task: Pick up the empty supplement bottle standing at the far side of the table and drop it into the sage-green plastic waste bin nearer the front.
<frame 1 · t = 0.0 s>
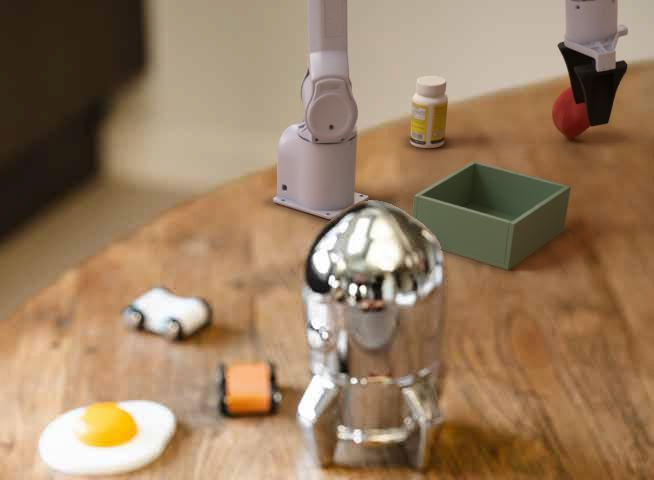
hand: (591, 112, 145), 11 cm above the table, tool pointing down, fingers open, 7 cm apart
bin: (487, 235, 144), on the table
supplement bottle: (426, 144, 167), on the table
onion: (569, 140, 167), on the table
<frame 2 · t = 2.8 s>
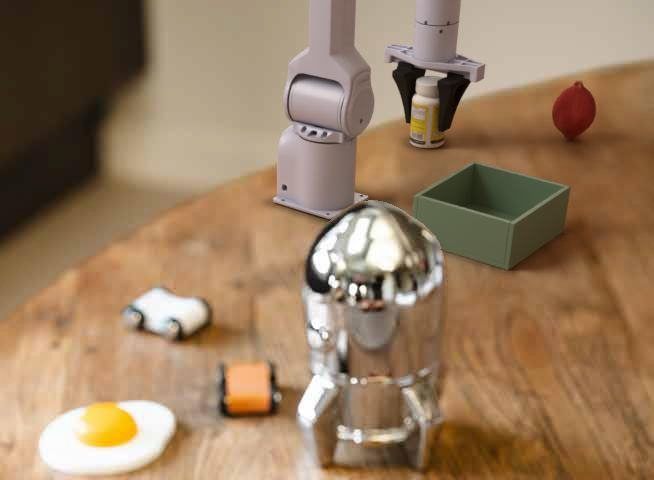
hand: (428, 125, 165), 2 cm above the table, tool pointing down, fingers closed on supplement bottle, 5 cm apart
supplement bottle: (426, 144, 167), on the table, touching gripper
everything else where it was.
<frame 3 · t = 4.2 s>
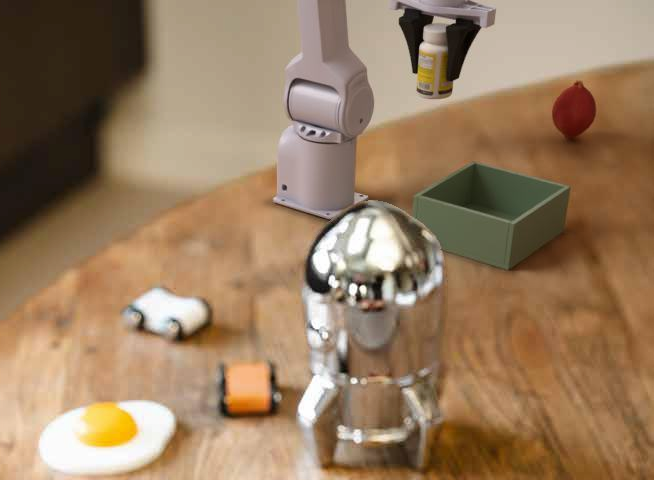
hand: (435, 75, 159), 10 cm above the table, tool pointing down, fingers closed on supplement bottle, 5 cm apart
supplement bottle: (433, 95, 161), point 7 cm above the table, touching gripper
everything else where it was.
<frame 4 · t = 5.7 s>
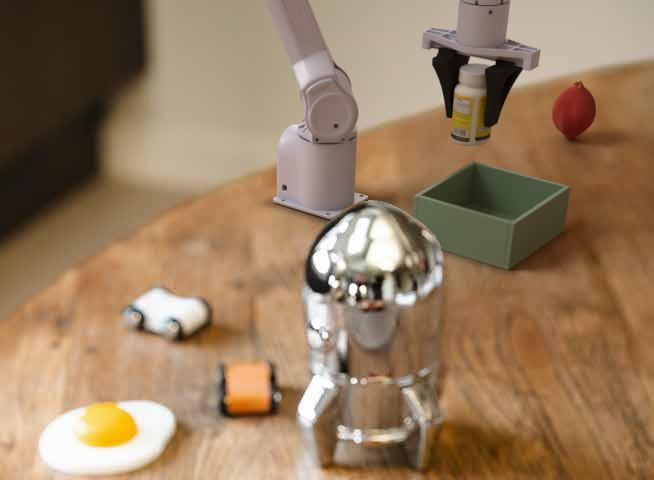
hand: (472, 120, 145), 10 cm above the table, tool pointing down, fingers closed on supplement bottle, 5 cm apart
supplement bottle: (469, 141, 147), point 7 cm above the table, touching gripper
everything else where it was.
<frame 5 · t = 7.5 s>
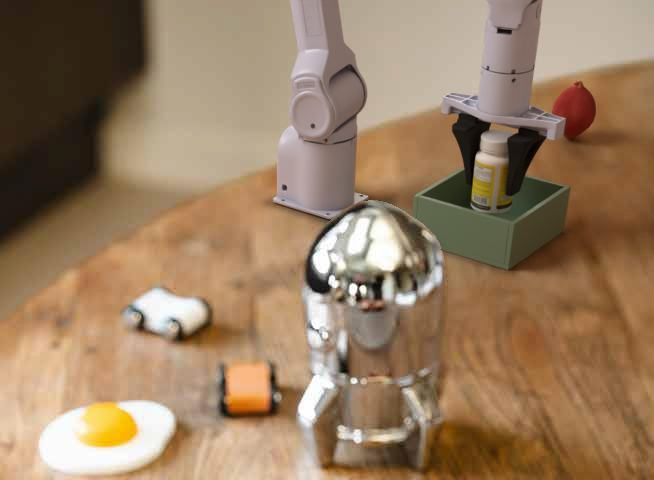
hand: (493, 187, 140), 6 cm above the table, tool pointing down, fingers closed on supplement bottle, 5 cm apart
supplement bottle: (490, 209, 142), point 3 cm above the table, touching gripper
everything else where it was.
when the fingers open (3 cm above the table, at t = 8.8 s): supplement bottle stays where it is, resting on bin.
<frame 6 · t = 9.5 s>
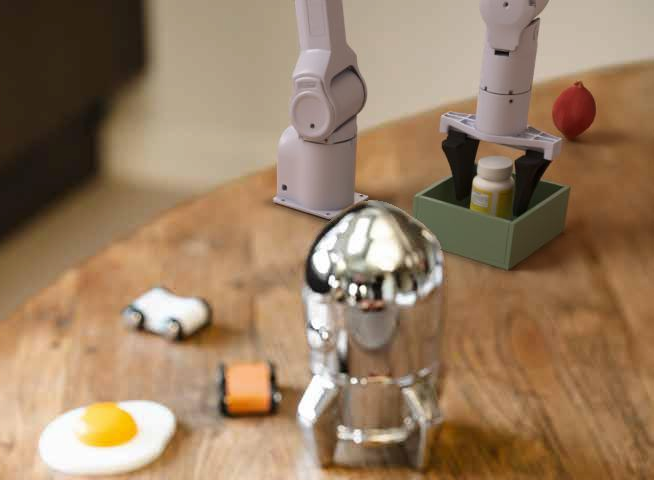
hand: (490, 205, 141), 4 cm above the table, tool pointing down, fingers open, 7 cm apart
supplement bottle: (487, 233, 143), resting on bin
everything else where it was.
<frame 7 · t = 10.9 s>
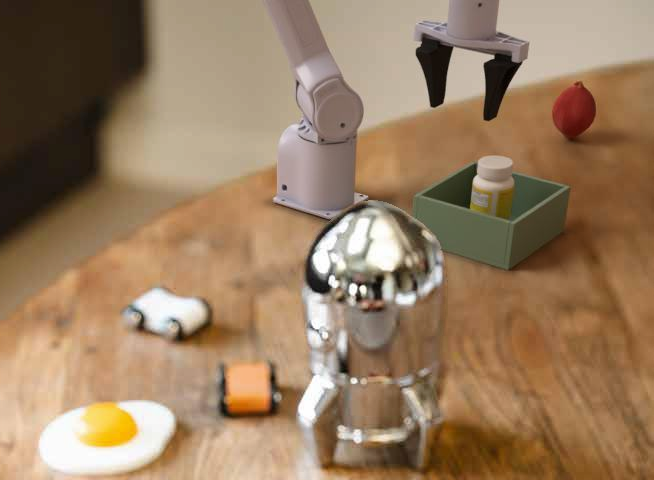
hand: (463, 111, 148), 10 cm above the table, tool pointing down, fingers open, 7 cm apart
nothing on the table moved.
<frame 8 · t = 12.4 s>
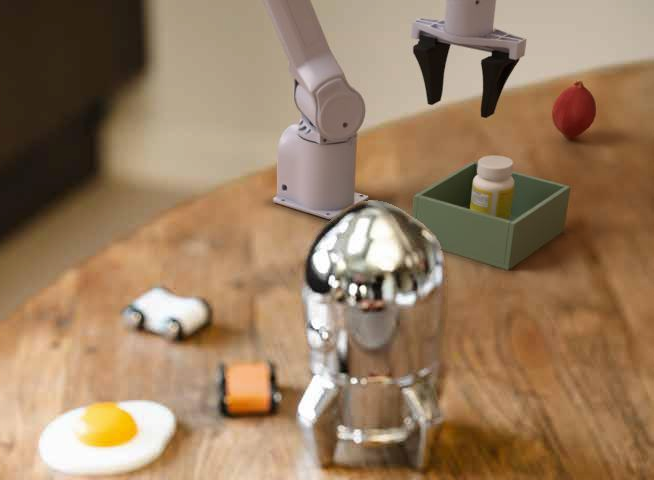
hand: (460, 108, 148), 10 cm above the table, tool pointing down, fingers open, 7 cm apart
nothing on the table moved.
at the end: supplement bottle inside the target area in the bin (0.1 cm from its centre), point 0.3 cm above the bin's base; the gripper is holding nothing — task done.
